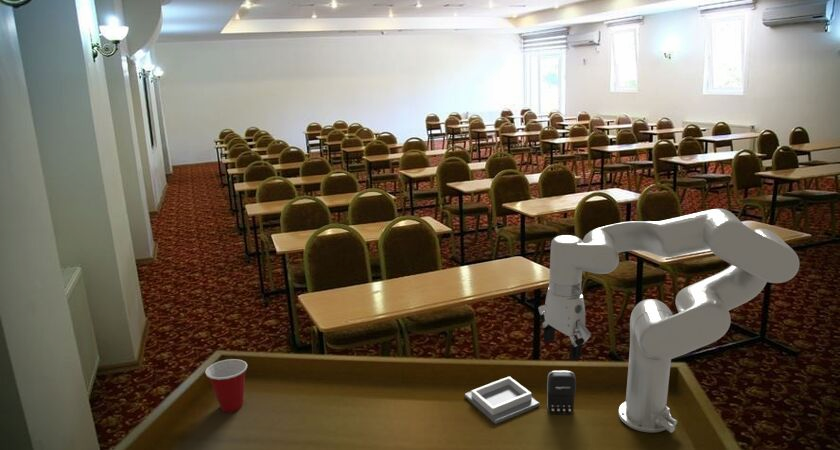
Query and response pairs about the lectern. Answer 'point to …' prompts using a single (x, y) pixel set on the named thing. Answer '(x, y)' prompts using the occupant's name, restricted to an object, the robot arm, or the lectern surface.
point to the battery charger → (561, 392)
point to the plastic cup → (228, 383)
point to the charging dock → (502, 399)
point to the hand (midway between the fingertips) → (561, 349)
